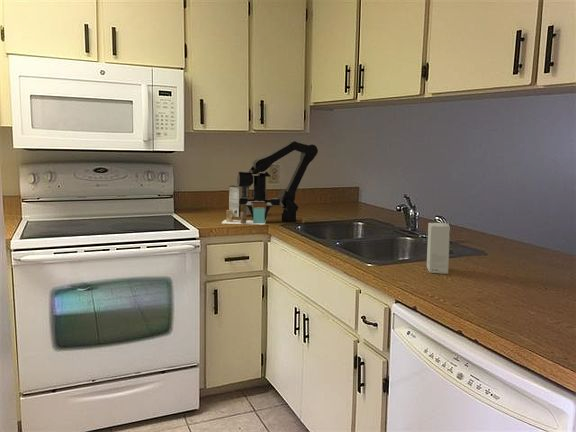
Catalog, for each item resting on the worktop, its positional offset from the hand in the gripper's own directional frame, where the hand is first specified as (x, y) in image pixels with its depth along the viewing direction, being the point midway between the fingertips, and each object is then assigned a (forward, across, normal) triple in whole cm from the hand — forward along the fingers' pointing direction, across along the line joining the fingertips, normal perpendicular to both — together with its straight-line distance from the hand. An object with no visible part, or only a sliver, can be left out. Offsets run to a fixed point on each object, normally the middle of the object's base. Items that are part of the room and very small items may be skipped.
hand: (259, 219), depth 235 cm
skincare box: (+2, -63, +76) cm, 99 cm away
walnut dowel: (+2, +7, +4) cm, 8 cm away
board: (+2, +7, +1) cm, 7 cm away
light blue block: (+1, 0, 0) cm, 1 cm away
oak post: (+2, +14, 0) cm, 14 cm away
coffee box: (+2, +12, -19) cm, 23 cm away
